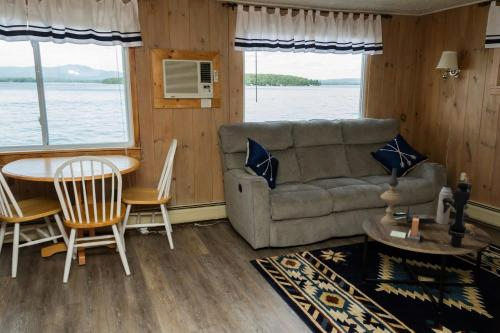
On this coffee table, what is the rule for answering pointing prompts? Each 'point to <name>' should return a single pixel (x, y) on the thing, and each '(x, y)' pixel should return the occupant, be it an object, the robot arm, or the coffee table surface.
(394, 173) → the wooden candle holder
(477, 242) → the coffee table surface
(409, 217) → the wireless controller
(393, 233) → the mat
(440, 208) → the thermos bottle
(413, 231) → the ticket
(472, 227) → the lion figurine
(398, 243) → the coffee table surface
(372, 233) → the coffee table surface
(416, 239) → the dispenser
